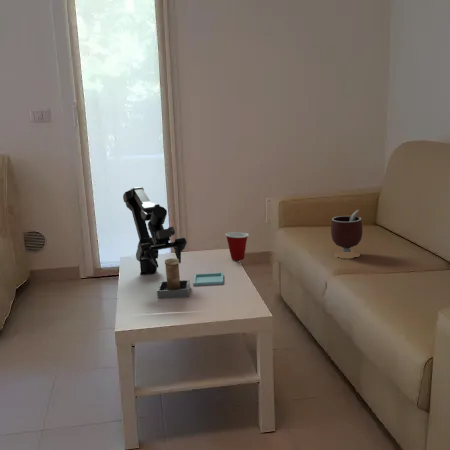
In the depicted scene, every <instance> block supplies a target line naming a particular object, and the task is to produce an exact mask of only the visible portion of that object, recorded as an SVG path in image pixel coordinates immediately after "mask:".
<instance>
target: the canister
mask: <svg viewBox="0 0 450 450" xmlns="http://www.w3.org/2000/svg"><path fill="white" fill-rule="evenodd" d="M164 265H165V275H166V281H167V289H168V290H174V289H180V280H181V278H180V263H179V259H177V258H175V257H174V258H166V259H165V260H164Z"/></svg>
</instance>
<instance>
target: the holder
mask: <svg viewBox="0 0 450 450" xmlns="http://www.w3.org/2000/svg"><path fill="white" fill-rule="evenodd" d="M190 290H191V281H190V279H180V289H174V290H168V289H167V280H162V281H161V280H160V281H159V285H158V288H157V290H156V295H157V300H161V299H174V298H175V299H178V298H189V296H190Z"/></svg>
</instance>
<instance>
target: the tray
mask: <svg viewBox="0 0 450 450" xmlns="http://www.w3.org/2000/svg"><path fill="white" fill-rule="evenodd" d="M213 285H214V286H215V285H224V272H206V273H205V272H204V273H194V276H193V283H192V286H194V287H195V286H196V287H197V286H213Z"/></svg>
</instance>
